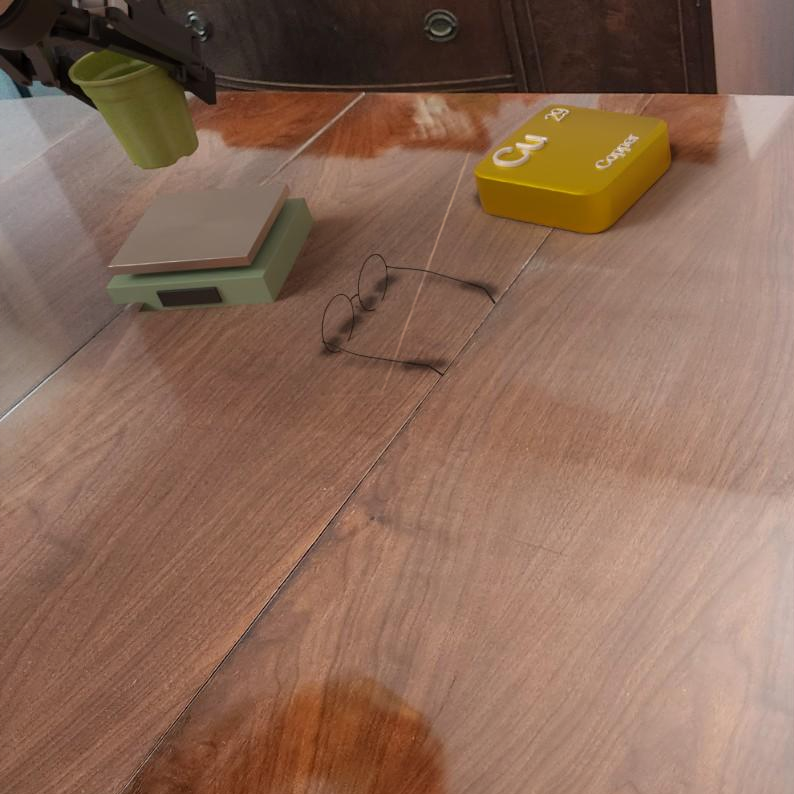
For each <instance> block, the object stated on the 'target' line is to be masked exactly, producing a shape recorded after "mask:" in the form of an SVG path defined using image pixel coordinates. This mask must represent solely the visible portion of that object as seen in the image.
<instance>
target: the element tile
mask: <svg viewBox="0 0 794 794" xmlns="http://www.w3.org/2000/svg"><path fill="white" fill-rule="evenodd" d="M670 145H671V143H670V135H669V125H668V123H667V122H666V120H664V119H662V118H658V117H653V116H646V115H638V114H632V113H624V112H617V111H611V110H610V111H609V110H603V109H596V108H588V107H582V106H581V107H580V106H574V105H568V104H555V103H554V104H549V105H547V106H545V107H543V108H542V109H541V110H538V112H536V113H535V114H534V115H533V116H532V117H531V118H529V119H528V120H527V121H526V122H525V123H524V124H522V125H521V126H520V127H519V128H518V129H517V130H515V131H514V132H513V133H512V134H511V135H510V136H508V137H507V138H506V139H505V140H504V141H503V142H501V143H500V144H499V145H498V146H496V147H495V148H494V149H493V150H492V151H491V152H489V153H488V154H487V155H486V156H484V157H483V158H482V159H481V160H480V161H478V162H477V164H476V165H475V166H474V168H473V177H474V180H475V184H476V188H477V192H478V197H479V200H480V205H481V208H482V210H483V211H484V212H485V213H486V214H489V215H491V216H493V217H494V216H496V217H501V218H504V219H510V220H516V221H520V222H525V223H530V224H534V225H535V224H536V225H540V226H546V227H551V228H554V229H555V228H556V229H560V230H566V231H571V232H576V233H579V234H580V233H581V234H598V233H601V232H604V231H606V230H608V229H610V228H611V227H612V226H613V225H614V224H615V223H616V222H617V221H619V219H620V218H621V217H622V216H623V215H624V214H626V212H627V211H628V210H629V209H630V208H631V207H632V206H633V205H634V204H635V203H636V202H637V201H638V200H639V199H640V198H641V197H642V196H643V195H644V194H645V193H646V192H647V191H649V189H651V187H652V186H653V185H654V184H655V183H656V182H657V181H658V180H659V179H660V178H661V177H662V176H664V174H665V173H666V172H667V171H668V170H669V169H670V167H671V163H672V153H671V146H670Z"/></svg>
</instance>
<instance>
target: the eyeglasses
mask: <svg viewBox="0 0 794 794" xmlns="http://www.w3.org/2000/svg"><path fill="white" fill-rule="evenodd" d="M373 256H379V257H380V258H381V259H382V261H383V263H384V266H385V272H386V273H385V274H386V283H385V288H384V291H383V295H382V297H381V300H380V302H382V301H383V300H384V297H385V296H386V291H387V288H388V282H389V281H388V279H389V276H388V275H389V274H388V268H391V269H394V270H395V269H397V270H411V271H419V272H420V271H421V272H425V273H431V274H434V275H438V276H441V277H444V278H447V279H450V280H454V281H457V282H461V283H464V284H467V285H469V286H471V287H475V288H478V289H482V290H483V291H485V293H486V294H487V296H488V298H489V299H490V300H491V302H492V304H493V305H495V304H497V302H496V301H495V299H494V298H493V297H492V295H491V294H490V292H489V291H488V290H487V288H486V287H484V286H481V285H478V284H475V283H472V282H468V281H465V280H461V279H458V278H454V277H451V276H447V275H444V274H440V273H438V272H435V271H431V270H425V269H419V268H412V267H411V268H410V267H396V266H391V265H387V263H386V261H385V259H384V257H383V256H382V255H380V254H378V253H373V254H371V255H369V256H368V257H367V258H366V259H365V261H364V262H363V265H362V266H361V269H360V272H359V276H358V280H357V293H356V294H354V295H352V296H351V298H349V296H348V295H346V294H345V293H339V294H336V295H334V296H333V297H332V298H331V299H330V300H329V302H328V303H327V305H326V307H325V309H324V312H323V315H322V320H321V321H322V322H321V339H322V341H321V342H322V344H324V346H325V348H326V350H327V351H329V352H330V353H333V354H337V353H339V352H341V351H343V352H346V353H348V354H352V355H355V356H358V357H362V358H368V359H376V360H381V361H388V362H394V363H402V364H407V365H413V366H421V367H428V368H429V369H431V370H432V371H434V372H435V373H437V374H438V375H440V376H441V377H443V376H444V374H443V372H441V371H439V370H437V369H436V368H435V367H432V366H431V365H429V364H425V363H418V362H412V361H400V360H396V359H390V358H389V359H388V358H383V357H376V356H369V355H362V354H358V353H355V352H351V351H349V350H346V349H344V348H342V347H339V346H336V345H334V344H332V343H330V342H326V341H325V338H324V320H325V316H326V313H327V310H328V308H329V305H331V303H332V301H333V300H334V299H335V298H336V297H338V296H343V297H346V298H347V300H348V301H349V303H350V306H351V310H352V325H351V330H350V334H349V336H348V339H347V340H346V343H348V342H349V341H350V339H351V336H352V334H353V330H354V325H355V308H356V309H359V306H358V305H357V303H355V307H354V305H353V302H352V301H353V299H354V298H355V297H358V301H359V303H360V305H361V307H362V308H363V309H364V311H366V312H373V311H375V310H376V308H373V309H367V308H366V307H364V305H363V303H364V301H363V300H361V297H360V296H361V295H360V281H361V276H362V272H363V269H364V266H365V265H366V263H367V262H368V260H370V258H371V257H373ZM327 345H330V346H332V347H334V348H337V349H338V350H337V351H333V350H331V349H329V347H328V346H327Z"/></svg>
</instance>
